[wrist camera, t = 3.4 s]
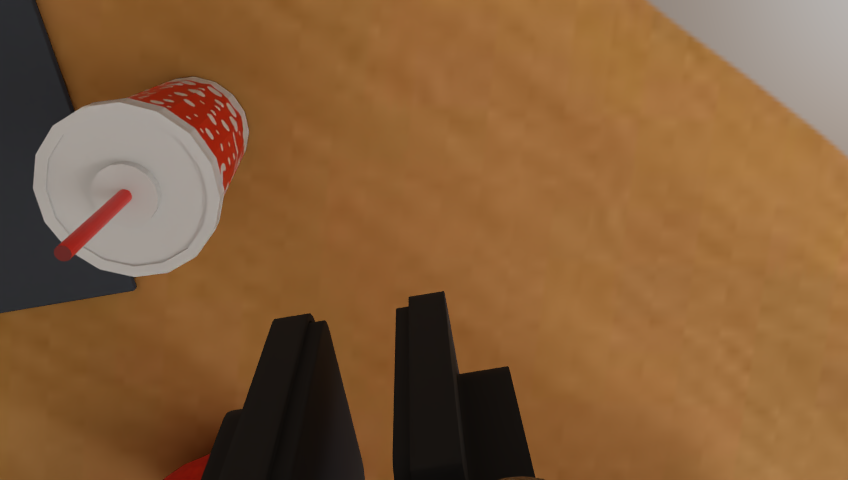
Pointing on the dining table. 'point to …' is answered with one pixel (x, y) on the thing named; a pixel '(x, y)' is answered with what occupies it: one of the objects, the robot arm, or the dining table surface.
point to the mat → (14, 171)
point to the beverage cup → (141, 176)
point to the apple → (190, 470)
